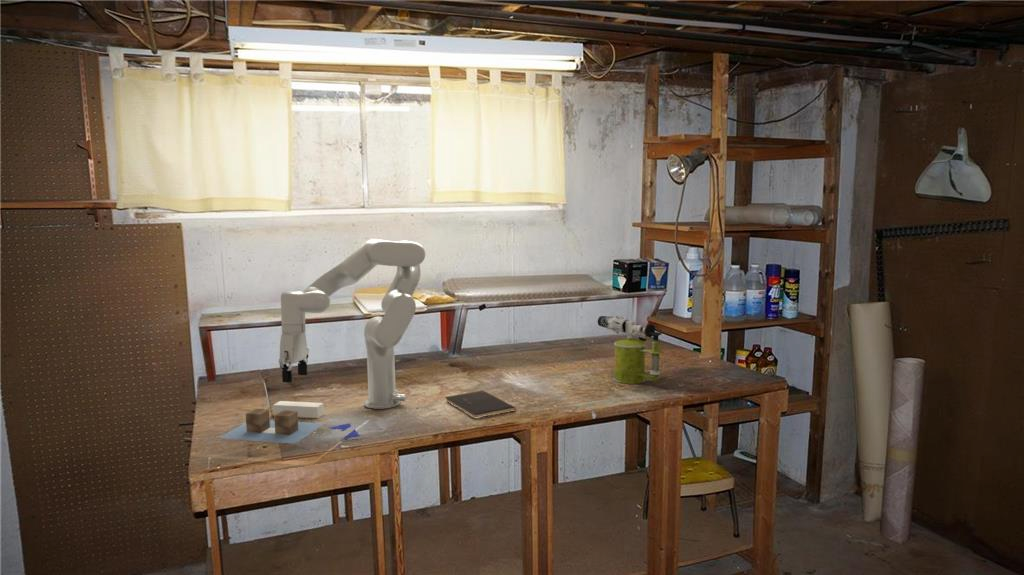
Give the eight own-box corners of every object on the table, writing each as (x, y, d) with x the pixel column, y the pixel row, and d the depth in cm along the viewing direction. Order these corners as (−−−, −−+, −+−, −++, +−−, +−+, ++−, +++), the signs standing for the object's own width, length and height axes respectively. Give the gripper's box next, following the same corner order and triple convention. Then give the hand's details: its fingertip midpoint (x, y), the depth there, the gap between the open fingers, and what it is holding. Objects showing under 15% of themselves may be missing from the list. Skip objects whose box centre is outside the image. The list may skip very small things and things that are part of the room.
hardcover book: (474, 421, 226) (474, 414, 226) (445, 403, 246) (445, 396, 245) (515, 412, 234) (515, 406, 234) (484, 396, 254) (484, 390, 253)
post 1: (270, 427, 217) (268, 409, 216) (261, 432, 212) (259, 414, 212) (256, 426, 218) (254, 408, 218) (246, 431, 214) (245, 413, 213)
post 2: (298, 429, 215) (297, 411, 214) (289, 435, 210) (288, 416, 209) (284, 428, 216) (283, 410, 215) (275, 433, 211) (274, 415, 211)
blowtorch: (649, 391, 254) (650, 326, 251) (589, 373, 281) (589, 314, 277) (672, 385, 262) (674, 322, 259) (612, 368, 288) (612, 310, 285)
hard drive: (325, 426, 217) (333, 439, 206) (351, 423, 221) (360, 435, 210) (326, 431, 218) (333, 444, 206) (351, 427, 221) (360, 440, 210)
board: (324, 426, 220) (324, 423, 220) (295, 447, 203) (294, 443, 203) (252, 421, 226) (252, 418, 226) (218, 441, 209) (218, 437, 208)
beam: (324, 417, 231) (323, 403, 230) (318, 421, 226) (317, 407, 226) (280, 414, 234) (280, 400, 233) (274, 419, 229) (273, 404, 229)
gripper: (297, 323, 235) (298, 371, 237) (268, 332, 218) (270, 384, 220) (316, 324, 233) (318, 373, 235) (289, 333, 216) (291, 386, 219)
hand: (295, 378), depth 228 cm, fingers open, 9 cm apart
